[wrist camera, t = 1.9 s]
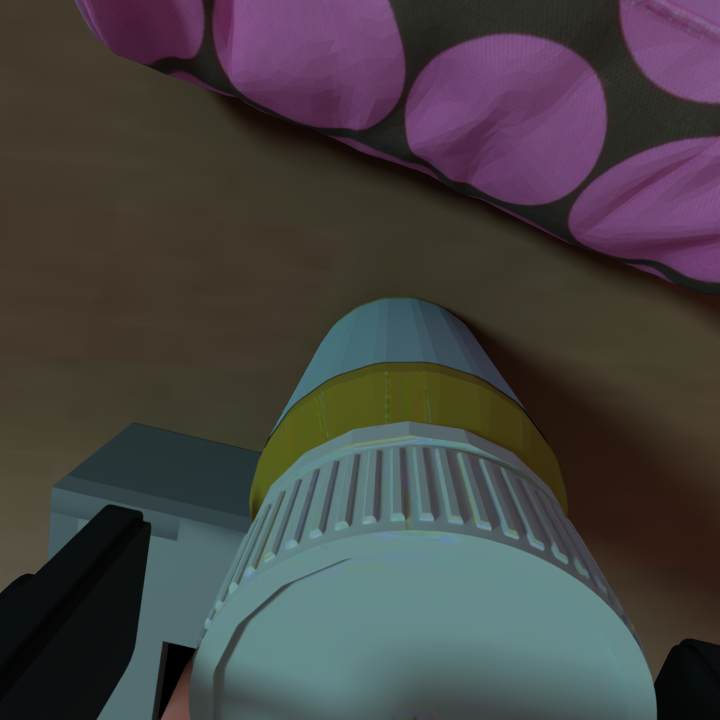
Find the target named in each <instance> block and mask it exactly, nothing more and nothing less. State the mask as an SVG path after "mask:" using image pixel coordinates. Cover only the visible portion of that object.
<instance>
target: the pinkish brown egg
mask: <svg viewBox="0 0 720 720" xmlns="http://www.w3.org/2000/svg"><path fill="white" fill-rule="evenodd" d="M195 651H196V649H194V650H193V651H192V653H191V655H190V657H189V659H188V661H187V664H186V666H185V668H184V670H183V672H182V675H181V677H180V679H179V681H178V683H177V685H176V688H175V690H174V692H173V694H172V696H171V699H170V701H169V703H168V705H167V707H166V710H165V712H164V714H163V716H162V718H161V720H190V713H189V687H190V676H191V673H192V669H193V664H192V660H193V656H194V653H195Z"/></svg>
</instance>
